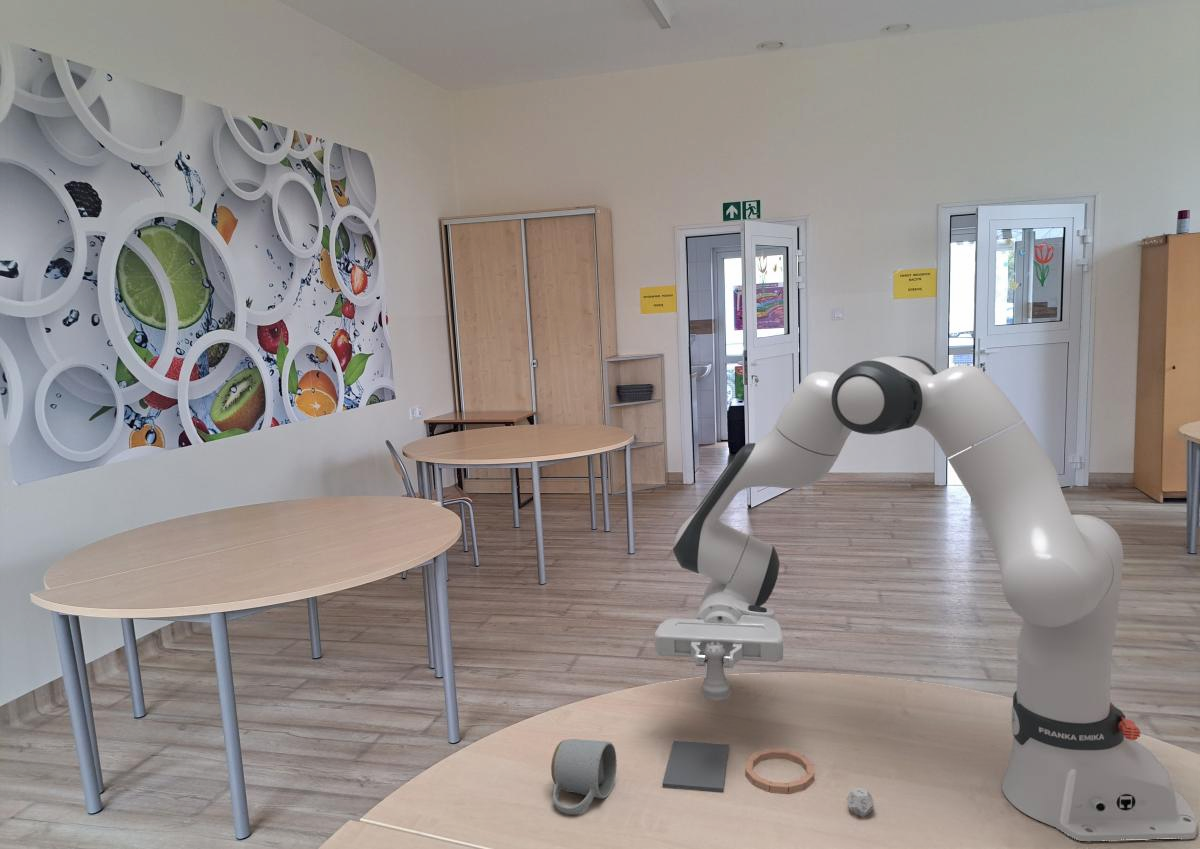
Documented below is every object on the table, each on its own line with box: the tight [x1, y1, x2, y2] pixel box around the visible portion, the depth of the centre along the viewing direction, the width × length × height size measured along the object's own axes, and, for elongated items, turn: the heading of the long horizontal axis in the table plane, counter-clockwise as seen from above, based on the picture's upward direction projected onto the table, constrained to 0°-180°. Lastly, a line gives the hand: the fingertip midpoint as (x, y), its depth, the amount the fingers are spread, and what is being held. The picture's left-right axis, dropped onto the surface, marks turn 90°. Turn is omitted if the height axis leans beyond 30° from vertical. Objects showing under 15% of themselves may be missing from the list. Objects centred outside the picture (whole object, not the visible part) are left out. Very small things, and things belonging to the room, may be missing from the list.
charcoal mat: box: [661, 740, 730, 793], centre depth 124 cm, size 9×12×1 cm
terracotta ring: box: [745, 748, 815, 794], centre depth 121 cm, size 10×10×1 cm
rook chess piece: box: [701, 642, 732, 702], centre depth 121 cm, size 4×4×8 cm
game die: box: [846, 786, 875, 818], centre depth 111 cm, size 4×4×3 cm
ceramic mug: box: [550, 738, 618, 816], centre depth 118 cm, size 11×8×8 cm
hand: (714, 662), depth 120 cm, fingers closed on rook chess piece, 3 cm apart
